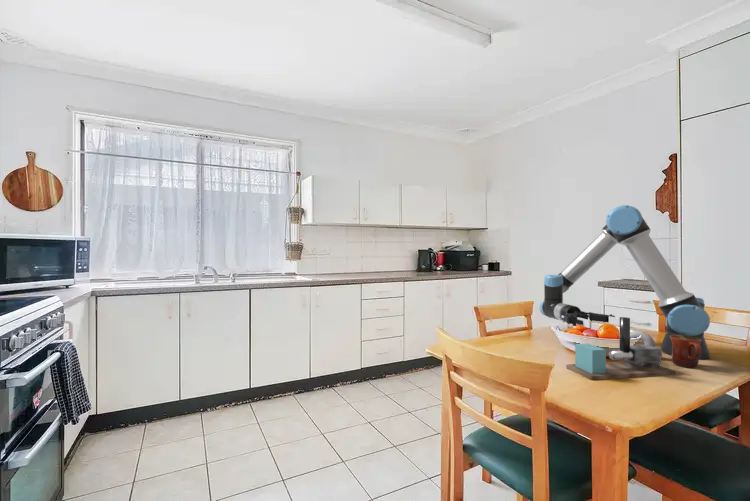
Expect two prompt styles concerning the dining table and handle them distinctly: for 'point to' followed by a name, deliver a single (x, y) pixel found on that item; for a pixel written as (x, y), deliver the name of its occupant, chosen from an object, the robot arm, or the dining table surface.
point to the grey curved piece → (643, 337)
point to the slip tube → (623, 342)
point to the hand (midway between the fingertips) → (607, 323)
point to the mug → (685, 350)
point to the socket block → (590, 358)
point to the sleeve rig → (631, 365)
